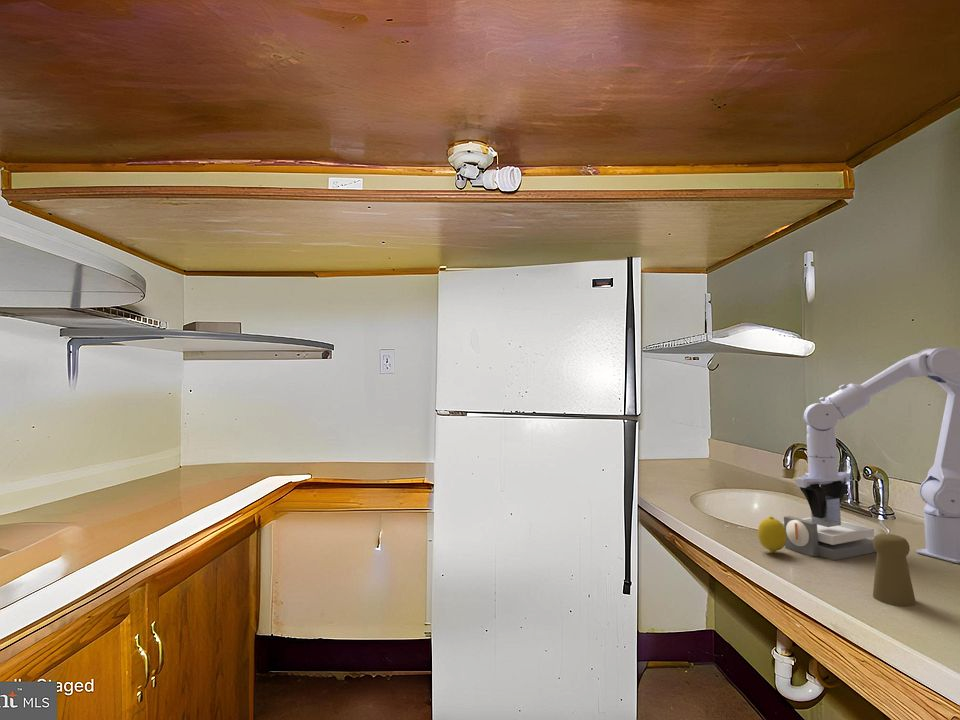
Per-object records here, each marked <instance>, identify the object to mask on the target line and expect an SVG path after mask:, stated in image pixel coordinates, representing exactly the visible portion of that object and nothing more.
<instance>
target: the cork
mask: <svg viewBox="0 0 960 720" xmlns="http://www.w3.org/2000/svg"><path fill="white" fill-rule="evenodd" d="M872 540H873V547H874V550H875V551H876V552H875V553H876V561H875V570H874V571H875V572H874V579H873V590H872V598H874V599H875V600H876V601H879V602H881V603H885V604H886V605H892V606H898V607H911V606H915V605H916V604H917V601H916V597H915V592H914V587H913V583H912V578H911V573H910V569H909V564H908V561H907V556H908V555H909V553H910V551H911V550H910V548H911V547H910V544H909V542H908V540H907V539H906V538H905V537H903V536H900V535H896V534H894V533H893V534H891V533H878V534H876V535H874V537H872Z"/></svg>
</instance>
